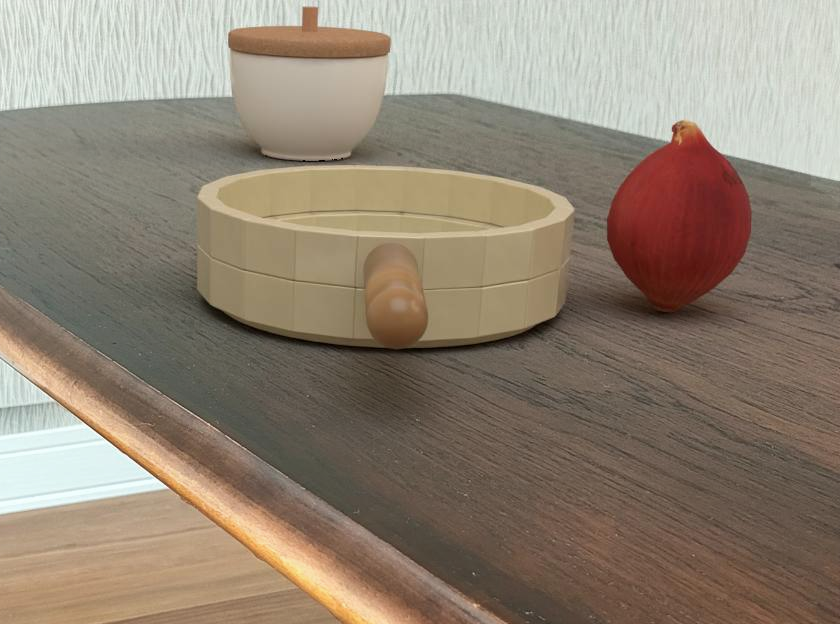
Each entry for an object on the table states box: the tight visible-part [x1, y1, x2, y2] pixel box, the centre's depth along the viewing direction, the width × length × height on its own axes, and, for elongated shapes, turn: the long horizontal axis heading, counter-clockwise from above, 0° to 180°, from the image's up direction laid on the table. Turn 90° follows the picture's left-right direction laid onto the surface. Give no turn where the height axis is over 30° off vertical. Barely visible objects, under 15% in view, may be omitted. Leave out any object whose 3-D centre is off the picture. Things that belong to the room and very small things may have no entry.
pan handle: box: [363, 243, 428, 350], centre depth 50 cm, size 2×9×2 cm, turn 178°
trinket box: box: [227, 5, 392, 162], centre depth 96 cm, size 11×11×9 cm
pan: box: [196, 164, 576, 349], centre depth 62 cm, size 16×16×4 cm
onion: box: [606, 119, 753, 313], centre depth 61 cm, size 6×6×8 cm
